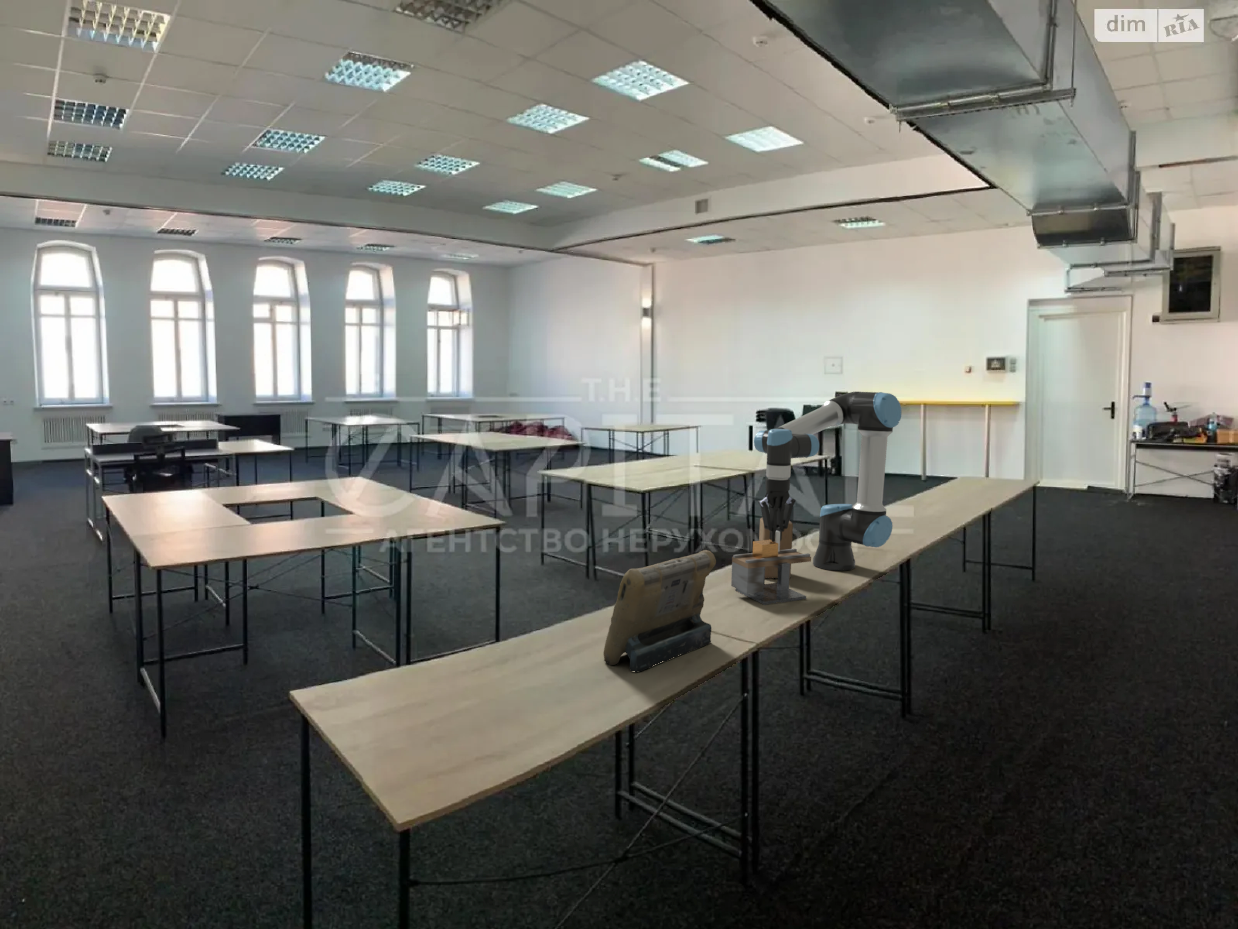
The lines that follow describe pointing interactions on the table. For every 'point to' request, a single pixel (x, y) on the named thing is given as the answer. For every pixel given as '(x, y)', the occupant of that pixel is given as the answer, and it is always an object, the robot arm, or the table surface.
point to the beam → (759, 568)
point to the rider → (765, 549)
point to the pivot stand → (776, 589)
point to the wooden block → (784, 544)
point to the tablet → (660, 612)
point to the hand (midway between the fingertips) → (775, 550)
